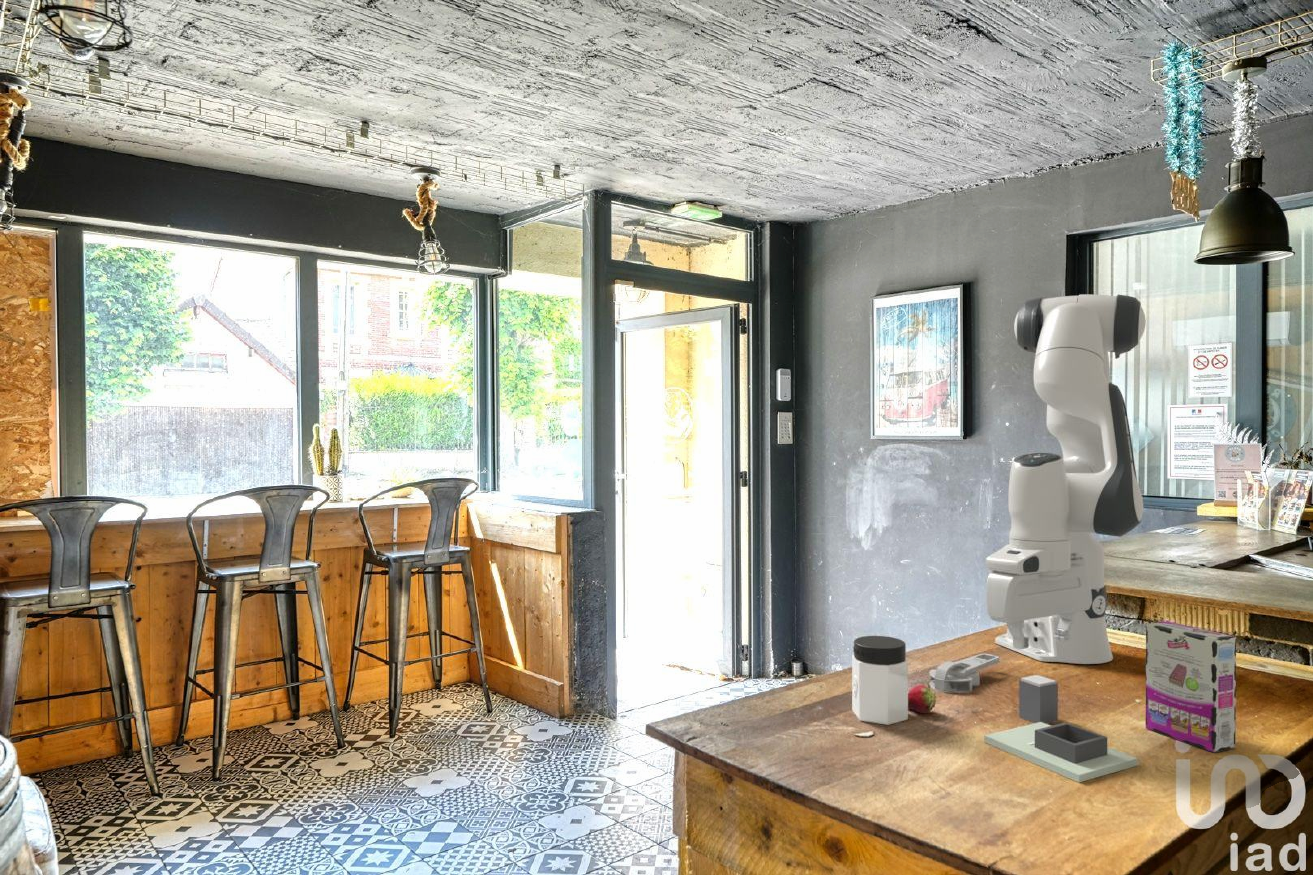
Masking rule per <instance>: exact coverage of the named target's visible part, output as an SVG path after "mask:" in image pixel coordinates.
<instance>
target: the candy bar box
mask: <svg viewBox="0 0 1313 875" xmlns="http://www.w3.org/2000/svg"><path fill="white" fill-rule="evenodd" d="M1236 683H1237V636H1236V635H1231V634H1226V633H1222V632H1217V631H1213V630H1209V629H1203V628H1199V627H1195V626H1190V625H1185V624H1181V623H1177V622H1172V621H1167V620H1165V621H1157V622H1151V623H1150V622H1149V623H1146V624H1145V729H1147V730H1149V731H1152V732H1154V733H1157V734H1160V735H1163V736H1166V737H1168V738H1171V739H1175V740H1176V741H1180V742H1183V743H1186V744H1189V745H1191V746H1195V747H1197V748H1200V749H1203V750H1206V751H1209V752H1211V753H1218V752H1223V751H1227V750H1232V749H1236V725H1237V723H1236V713H1237V712H1236V708H1237V707H1236V705H1237V704H1236V703H1237V701H1236V700H1237V696H1236V695H1237V692H1236V691H1237V690H1236V688H1237V687H1236V686H1237V684H1236Z"/></svg>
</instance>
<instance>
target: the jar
mask: <svg viewBox="0 0 1313 875" xmlns="http://www.w3.org/2000/svg"><path fill="white" fill-rule="evenodd" d="M906 648H907V645H906V642H905V641H903V640H902V639H899V638H896V637H893V636H892V637H891V636H884V635H865V636H860V637H857V638H855V639H854V641H853V650H852V652H853V654H852V655H851V687H852V688H851V697H852V699H851V701H852V703H851V709H852V712H853V713H854V715H855V716H856V718H857V719H858V720H859V721H861V722H865V723H866V722H867V723H874V724H880V725H883V726H884V725H885V726H889V725H893V724H897V723H900V722H903V721H904V722H905V721H907V720H909V708H908V693H909V662H908V660H907V659H906V658H907V657H906V656H907V654H906V652H907V651H906V650H907V649H906Z"/></svg>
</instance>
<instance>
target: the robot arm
mask: <svg viewBox="0 0 1313 875" xmlns="http://www.w3.org/2000/svg"><path fill="white" fill-rule="evenodd" d="M1145 329H1146V314H1145V312H1144V309H1143V307H1142V303H1141V301H1139V299H1137V298H1136V297H1134V296H1130V295H1124V294H1117V295H1106V294H1092V293H1091V294H1089V293H1088V294H1087V293H1086V294H1084V293H1083V294H1079V295H1067V296H1066V295H1065V296H1055V297H1049V298H1043V297H1037V298H1033V299H1029V300H1026V301H1025V302H1023V303H1022V304H1021V305H1020V307H1019V309H1018V312H1017V314H1016V315H1015V318H1014V325H1013V330H1014V331H1013V332H1014V336H1015V338H1016V341H1017V344H1018V346H1019V347H1020V348H1021V349H1022V350H1024V351H1025V352H1029V353H1031V354H1032V353H1033V354H1035V357H1034V362H1033V363H1034V365H1033V386H1034V390H1035V392H1036V394H1037V396H1038V397H1039V398H1040V399H1041V400H1042V401H1043V402H1044V403H1045V404H1046V420H1045V421H1046V423H1045V425H1046V428H1047V431H1048V432H1049V434H1051V435H1052V436H1053V437H1055V438H1056V439H1057V441H1058V443H1059V446H1060V448H1061V451H1062V452H1061V453H1062V456H1061V455H1060V454H1055V453H1051V452H1034V453H1027V454H1026V453H1025V454H1022V455H1019V456H1017V457H1015V458H1014V459H1013V460H1012V463H1011V466H1010V472H1009V480H1008V493H1007V494H1008V496H1007V497H1008V500H1007V501H1008V504H1007V505H1008V506H1007V507H1008V513H1009V516H1010V521H1011V522H1010V523H1011V526H1010V531H1009V534H1008V537H1009V538H1008V541H1009V542H1008V543H1009V544H1006V545H1005V546H1003V547H1002V548H1000V549H999V550H997V551H995V552H993V553H991V554H990V555H988V556H987V557H986V559H985V565H986V569H987V570H988V571H991V572H989V574H988V576H987V579H986V585H985V586H986V587H985V588H986V589H985V605H986V606H985V607H986V612H987V615H988V617H989V619H991V620H992V621H995V622H998V623H1004V624H1006V628H1007V630H1006V633H1004V634H1000V635H998V636H997V637H995V639H994V643H995V644H997V645H999V646H1002V647H1004V648H1007V649H1009V650H1012V651H1014V652H1017V653H1020V654H1022V655H1025V656H1027V657H1029V658H1031V659H1034V660H1036V661H1037V660H1038V661H1040V662H1048V663H1049V662H1051V663H1053V662H1054V663H1057V662H1058V663H1068V664H1078V665H1095V664H1097V665H1099V664H1104V663H1108V662H1111V661H1113V659H1114V655H1113V653H1112V649H1111V646H1110V641H1109V637H1108V636H1109V635H1108V630H1107V624H1106V623H1107V622H1106V611H1107V600H1108V598H1107V586H1106V585H1105V548H1104V546H1103V544H1102V543H1101V542H1100V541H1099V540H1098V539H1097V538H1095V537H1093V535H1092V534H1093V533H1094V534H1096V535H1105V536H1112V537H1118V538H1121V537H1123V536H1124V535H1127V534H1128V533H1130V532H1131V531H1132V530H1134V529H1135V528H1136V527H1138V526H1139V525H1140V524H1141V522H1142V518H1143V514H1144V500H1143V499H1144V498H1143V495H1142V491H1141V488H1140V485H1139V483H1138V479H1137V478H1138V477H1137V472H1136V471H1137V470H1136V466H1135V465H1136V464H1135V458H1134V457H1135V456H1134V452H1133V450H1134V449H1133V444H1132V436H1131V429H1130V423H1129V418H1128V413H1127V412H1128V411H1127V407H1126V403H1125V399H1124V397H1123V394H1122V392H1121V389H1120V388H1119V386H1118V385H1116V384H1114V383H1112V382H1111V368H1110V358H1109V353H1114V356H1115V359H1119V358H1120V355H1122V354H1126V353H1128V352H1131V351H1132V350H1133V349H1134V348H1136V347H1137V346H1138V345H1139V342H1140V340H1141V339H1142V337H1143V335H1144V333H1145Z"/></svg>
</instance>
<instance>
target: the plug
mask: <svg viewBox="0 0 1313 875" xmlns="http://www.w3.org/2000/svg"><path fill="white" fill-rule="evenodd" d="M1058 695H1059V683H1057V681H1056V680H1054V679H1052V678H1047V677H1046V676H1042V675H1038V674H1035V675H1034V674H1033V675H1030V676H1025V677H1021V678H1020V680H1019V681H1018V717H1019V719H1022V720H1025V721H1028V722H1029V723H1031V724H1034V723H1038V722H1043V723H1045V724H1048V725H1049V724H1051V723H1052V724H1053V723H1057V722H1058V720H1059V717H1058V716H1059V696H1058Z"/></svg>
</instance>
